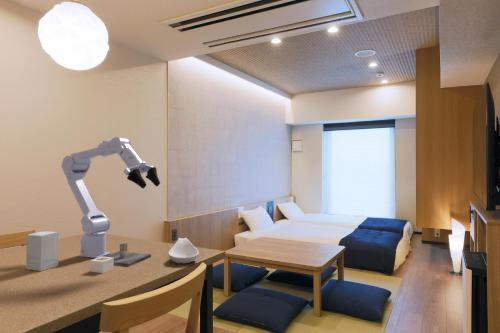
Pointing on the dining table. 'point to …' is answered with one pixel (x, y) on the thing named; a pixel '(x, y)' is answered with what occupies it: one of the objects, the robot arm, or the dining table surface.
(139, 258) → the post board
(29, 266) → the supplement box
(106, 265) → the white hollow block
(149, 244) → the dining table surface
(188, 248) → the spoon rest
